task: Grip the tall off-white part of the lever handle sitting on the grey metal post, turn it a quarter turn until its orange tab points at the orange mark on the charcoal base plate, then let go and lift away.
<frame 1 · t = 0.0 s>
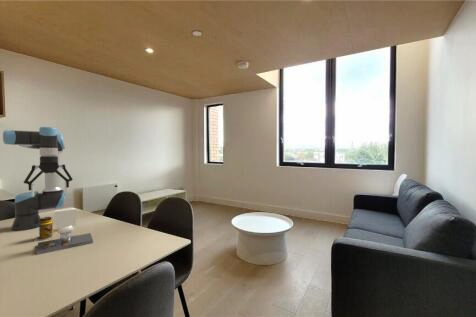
hand: (49, 195, 122), 28 cm above the table, tool pointing down, fingers open, 13 cm apart
condiment: (44, 238, 135), on the table
base plate: (66, 244, 126), on the table
lever handle: (64, 220, 125), point 13 cm above the table, hinge at 0.0°
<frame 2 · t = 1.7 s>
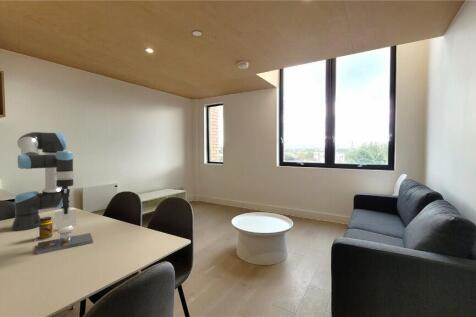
hand: (65, 217, 125), 15 cm above the table, tool pointing down, fingers open, 13 cm apart
nothing on the table moved.
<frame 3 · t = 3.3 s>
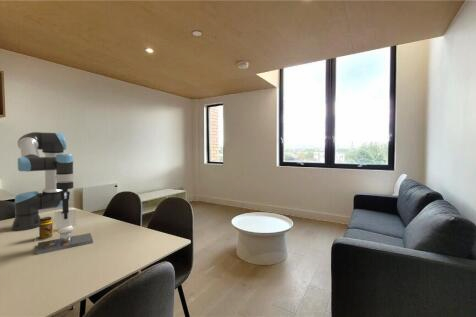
hand: (65, 223, 126), 12 cm above the table, tool pointing down, fingers closed on lever handle, 3 cm apart
lever handle: (64, 220, 125), point 13 cm above the table, hinge at 0.0°, touching gripper
everything else where it was.
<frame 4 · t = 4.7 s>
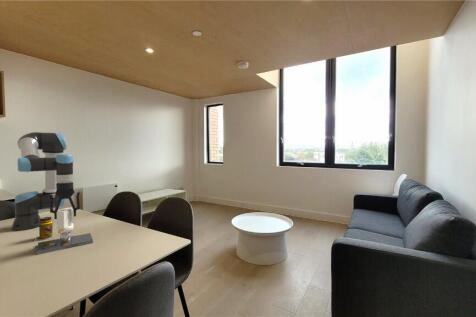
hand: (65, 223, 126), 12 cm above the table, tool pointing down, fingers closed on lever handle, 6 cm apart
lever handle: (65, 220, 125), point 13 cm above the table, hinge at 59.4°, touching gripper
everything else where it was.
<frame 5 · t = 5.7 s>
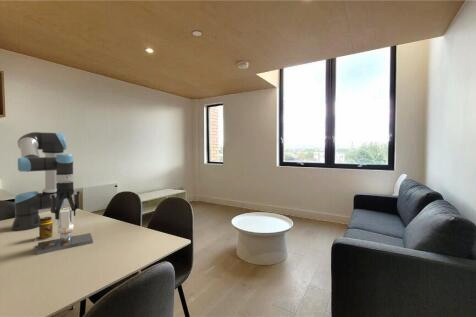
hand: (65, 223, 126), 12 cm above the table, tool pointing down, fingers closed on lever handle, 5 cm apart
lever handle: (65, 220, 125), point 13 cm above the table, hinge at 85.7°, touching gripper
everything else where it was.
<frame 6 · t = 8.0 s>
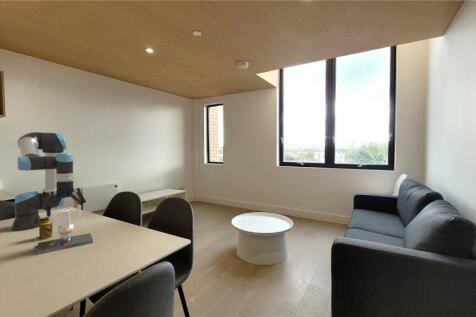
hand: (65, 218, 126), 14 cm above the table, tool pointing down, fingers open, 13 cm apart
lever handle: (65, 220, 125), point 13 cm above the table, hinge at 87.1°
everything else where it was.
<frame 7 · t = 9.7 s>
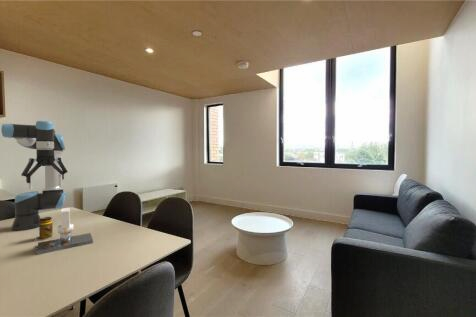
hand: (46, 187, 127), 32 cm above the table, tool pointing down, fingers open, 13 cm apart
nothing on the table moved.
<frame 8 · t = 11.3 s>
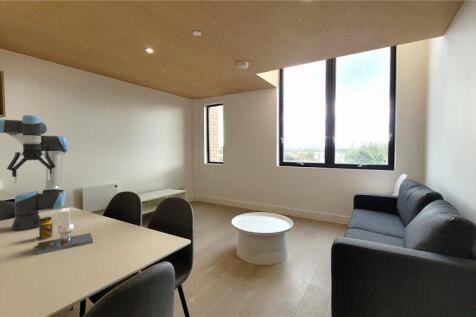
hand: (33, 181, 126), 35 cm above the table, tool pointing down, fingers open, 13 cm apart
nothing on the table moved.
at the end: lever handle at +87° (first picture: +0°); the gripper is holding nothing; condiment moved 0.3 cm from its start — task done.
